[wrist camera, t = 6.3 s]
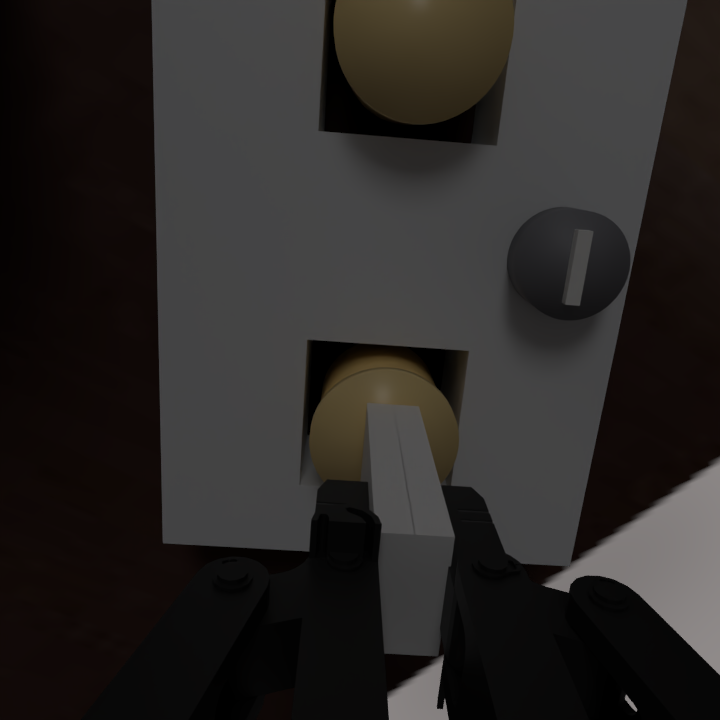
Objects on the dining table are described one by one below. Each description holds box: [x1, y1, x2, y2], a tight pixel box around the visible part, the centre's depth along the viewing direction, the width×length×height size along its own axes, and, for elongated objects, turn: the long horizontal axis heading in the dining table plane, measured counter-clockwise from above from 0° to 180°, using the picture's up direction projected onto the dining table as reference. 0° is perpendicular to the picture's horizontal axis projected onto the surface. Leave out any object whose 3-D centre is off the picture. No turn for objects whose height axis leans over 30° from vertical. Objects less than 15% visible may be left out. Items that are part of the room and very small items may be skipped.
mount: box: [152, 0, 687, 566], centre depth 19 cm, size 14×21×6 cm, turn 176°
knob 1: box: [334, 0, 514, 125], centre depth 17 cm, size 4×4×4 cm
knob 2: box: [309, 343, 459, 484], centre depth 20 cm, size 4×4×4 cm
